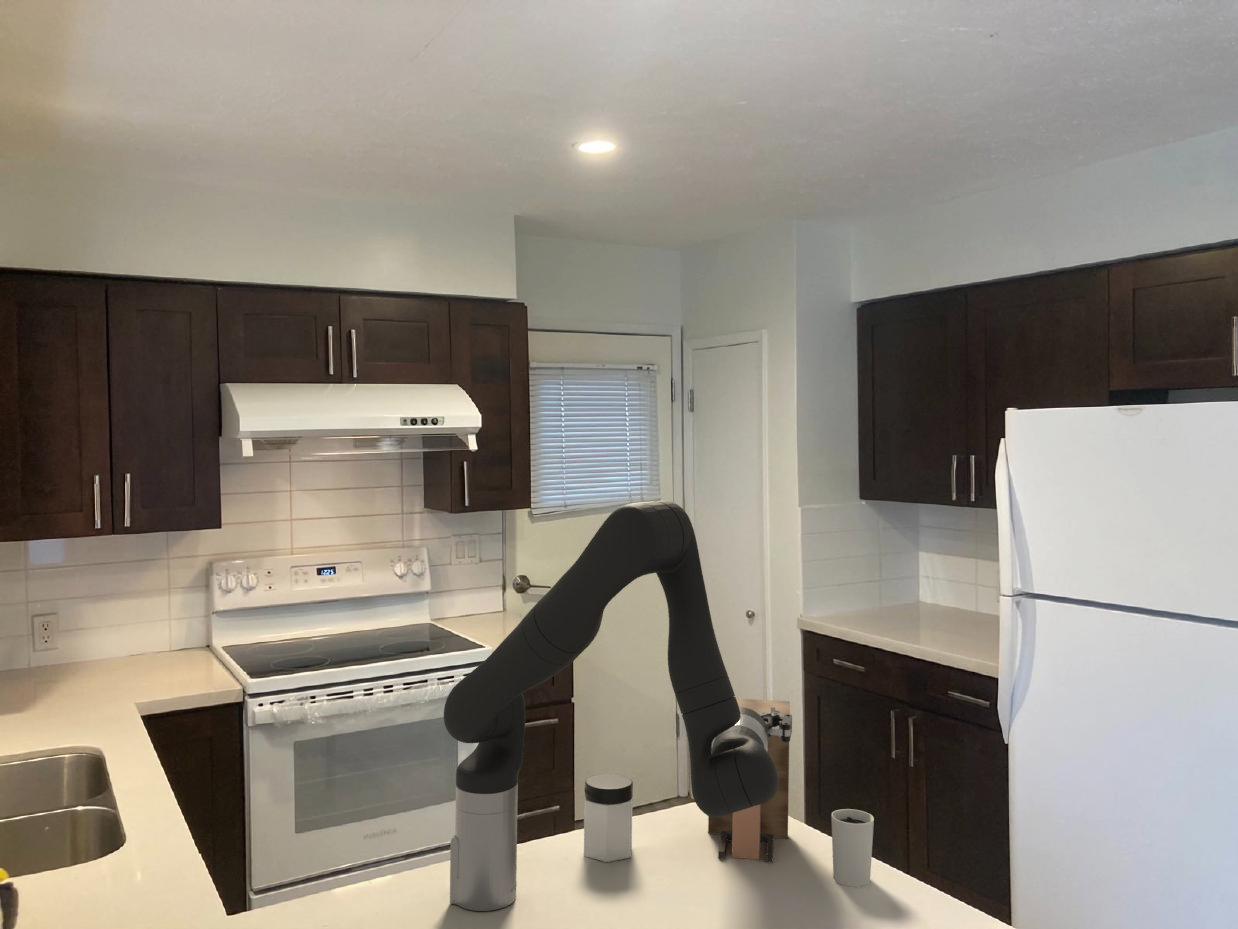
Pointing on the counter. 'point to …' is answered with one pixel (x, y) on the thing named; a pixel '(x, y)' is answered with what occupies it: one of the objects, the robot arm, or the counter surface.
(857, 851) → the white cup
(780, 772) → the shelf
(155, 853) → the counter surface
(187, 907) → the counter surface
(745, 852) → the tall terracotta pillar
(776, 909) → the counter surface
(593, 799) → the jar
